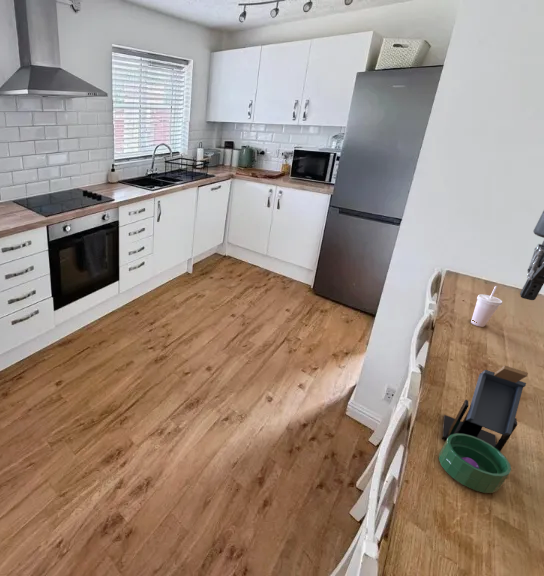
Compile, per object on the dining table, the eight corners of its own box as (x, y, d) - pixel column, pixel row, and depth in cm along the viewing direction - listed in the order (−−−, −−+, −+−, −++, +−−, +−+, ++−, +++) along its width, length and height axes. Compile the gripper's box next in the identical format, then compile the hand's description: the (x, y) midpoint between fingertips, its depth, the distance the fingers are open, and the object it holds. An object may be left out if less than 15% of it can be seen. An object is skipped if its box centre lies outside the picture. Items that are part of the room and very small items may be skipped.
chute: (479, 374, 74) (494, 362, 67) (518, 387, 71) (538, 376, 64) (465, 420, 72) (480, 412, 65) (505, 436, 68) (525, 429, 61)
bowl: (459, 446, 76) (469, 429, 74) (510, 487, 68) (523, 468, 66) (426, 457, 73) (435, 439, 71) (475, 500, 65) (487, 481, 63)
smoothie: (490, 324, 124) (510, 287, 118) (488, 331, 120) (508, 292, 114) (467, 317, 128) (485, 280, 122) (464, 323, 124) (482, 285, 118)
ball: (467, 482, 68) (463, 470, 71) (485, 476, 66) (481, 464, 69) (454, 468, 69) (451, 457, 71) (471, 462, 67) (468, 450, 70)
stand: (443, 417, 83) (461, 380, 79) (493, 437, 78) (516, 399, 74) (441, 441, 77) (461, 403, 72) (496, 465, 72) (521, 426, 67)
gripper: (613, 224, 60) (558, 316, 67) (592, 211, 70) (546, 293, 77) (550, 215, 64) (505, 303, 71) (539, 204, 74) (500, 282, 81)
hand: (526, 297), depth 74 cm, fingers closed
